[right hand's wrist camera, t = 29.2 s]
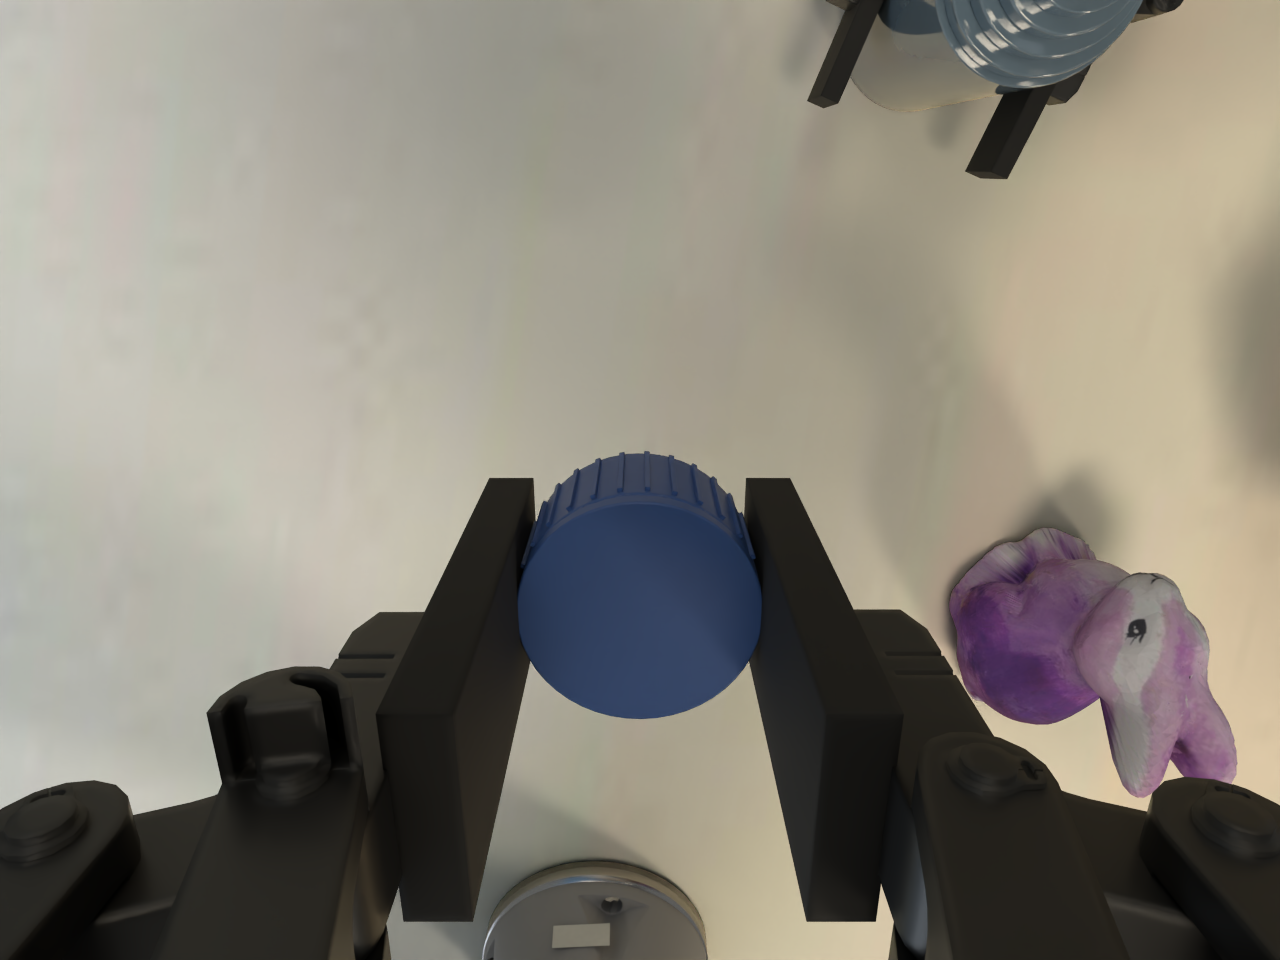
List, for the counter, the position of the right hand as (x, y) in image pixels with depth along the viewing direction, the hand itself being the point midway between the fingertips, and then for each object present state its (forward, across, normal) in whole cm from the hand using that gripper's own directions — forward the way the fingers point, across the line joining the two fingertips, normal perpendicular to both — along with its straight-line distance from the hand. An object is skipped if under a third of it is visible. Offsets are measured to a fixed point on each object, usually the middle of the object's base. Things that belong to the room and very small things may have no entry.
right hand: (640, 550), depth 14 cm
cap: (-2, 0, 0) cm, 2 cm away
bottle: (+29, -12, -12) cm, 34 cm away
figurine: (+29, -22, +17) cm, 40 cm away
